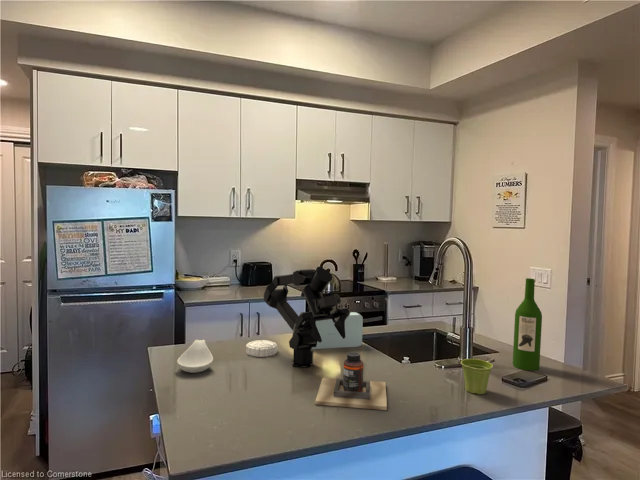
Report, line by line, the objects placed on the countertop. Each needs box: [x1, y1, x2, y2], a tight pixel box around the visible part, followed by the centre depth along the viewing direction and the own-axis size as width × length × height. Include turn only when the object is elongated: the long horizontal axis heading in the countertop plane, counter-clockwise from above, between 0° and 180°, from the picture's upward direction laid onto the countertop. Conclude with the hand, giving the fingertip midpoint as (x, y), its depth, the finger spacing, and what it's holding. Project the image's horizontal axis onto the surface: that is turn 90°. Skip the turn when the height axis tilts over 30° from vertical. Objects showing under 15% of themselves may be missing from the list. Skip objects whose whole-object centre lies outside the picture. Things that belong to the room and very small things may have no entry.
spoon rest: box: [176, 339, 214, 374], centre depth 151 cm, size 24×12×7 cm, turn 10°
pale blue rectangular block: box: [312, 311, 364, 350], centre depth 176 cm, size 23×6×13 cm, turn 105°
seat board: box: [314, 377, 388, 411], centre depth 129 cm, size 20×18×2 cm
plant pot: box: [460, 358, 494, 395], centre depth 134 cm, size 9×9×9 cm
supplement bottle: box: [342, 351, 364, 392], centre depth 129 cm, size 6×6×11 cm
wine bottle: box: [512, 277, 543, 372], centre depth 157 cm, size 9×9×32 cm
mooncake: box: [245, 339, 278, 358], centre depth 167 cm, size 12×12×4 cm
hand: (332, 339), depth 138 cm, fingers open, 9 cm apart
